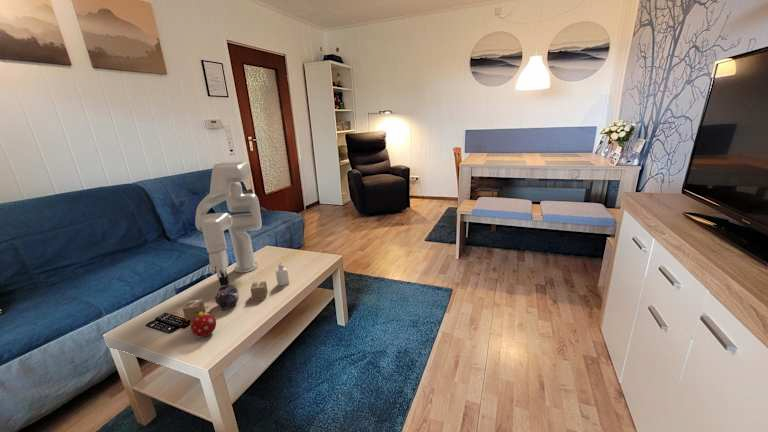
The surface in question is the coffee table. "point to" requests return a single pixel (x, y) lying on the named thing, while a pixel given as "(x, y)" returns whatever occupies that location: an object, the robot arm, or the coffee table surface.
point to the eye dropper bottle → (282, 275)
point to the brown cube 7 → (193, 309)
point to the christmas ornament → (203, 324)
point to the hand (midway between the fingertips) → (224, 284)
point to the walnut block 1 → (259, 290)
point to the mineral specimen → (227, 296)
